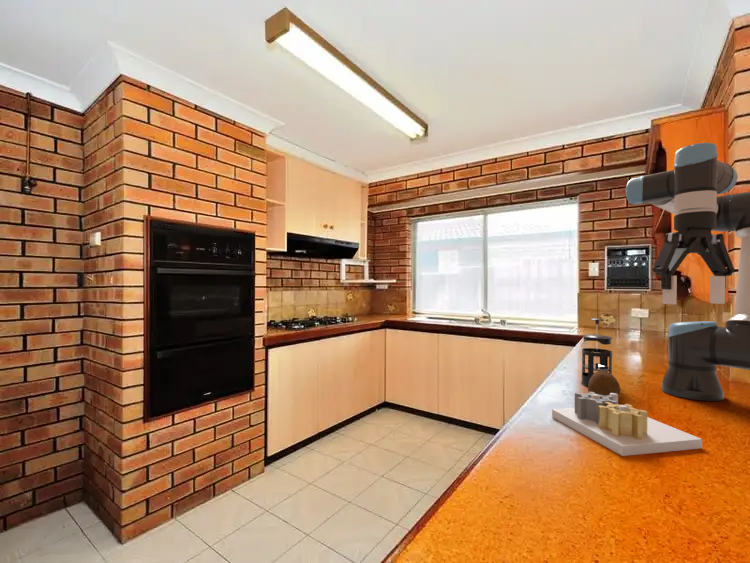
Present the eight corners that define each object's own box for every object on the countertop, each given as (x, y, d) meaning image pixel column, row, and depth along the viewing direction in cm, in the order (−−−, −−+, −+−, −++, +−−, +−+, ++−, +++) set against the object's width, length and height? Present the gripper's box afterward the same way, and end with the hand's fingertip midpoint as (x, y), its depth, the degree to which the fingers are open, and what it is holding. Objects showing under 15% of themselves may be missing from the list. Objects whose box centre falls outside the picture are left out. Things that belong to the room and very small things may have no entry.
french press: (604, 391, 121) (605, 320, 120) (574, 384, 128) (575, 318, 128) (619, 385, 127) (620, 318, 127) (590, 379, 135) (591, 316, 135)
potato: (623, 398, 114) (624, 369, 114) (617, 408, 105) (617, 377, 105) (592, 392, 120) (592, 365, 119) (584, 401, 111) (584, 372, 110)
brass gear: (608, 420, 90) (608, 399, 90) (650, 431, 84) (651, 409, 84) (593, 430, 84) (593, 408, 84) (638, 442, 78) (638, 419, 78)
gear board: (617, 412, 102) (617, 384, 101) (701, 448, 80) (702, 413, 80) (552, 416, 98) (552, 388, 98) (622, 456, 76) (622, 419, 76)
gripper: (720, 217, 92) (719, 302, 93) (634, 213, 88) (634, 303, 88) (756, 212, 85) (755, 304, 85) (665, 207, 80) (664, 305, 81)
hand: (693, 304), depth 87 cm, fingers open, 13 cm apart
